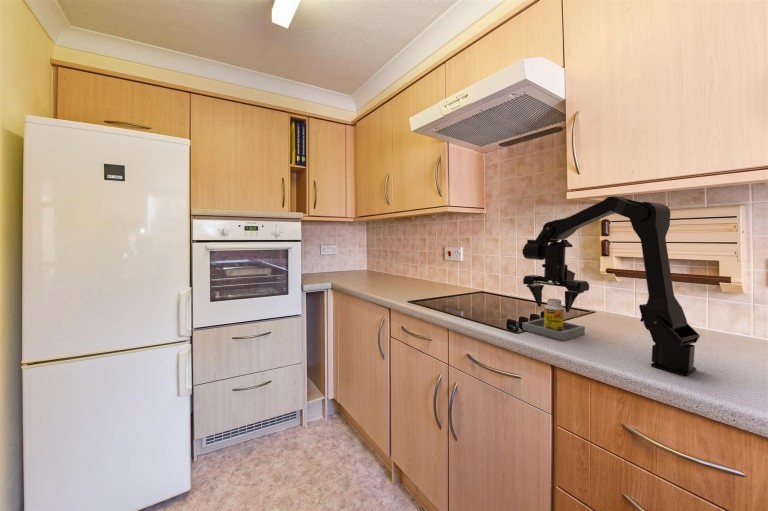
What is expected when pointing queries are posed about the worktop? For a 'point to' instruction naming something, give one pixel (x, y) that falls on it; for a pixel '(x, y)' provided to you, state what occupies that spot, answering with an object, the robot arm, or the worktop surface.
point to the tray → (566, 334)
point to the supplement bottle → (554, 315)
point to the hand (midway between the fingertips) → (553, 309)
